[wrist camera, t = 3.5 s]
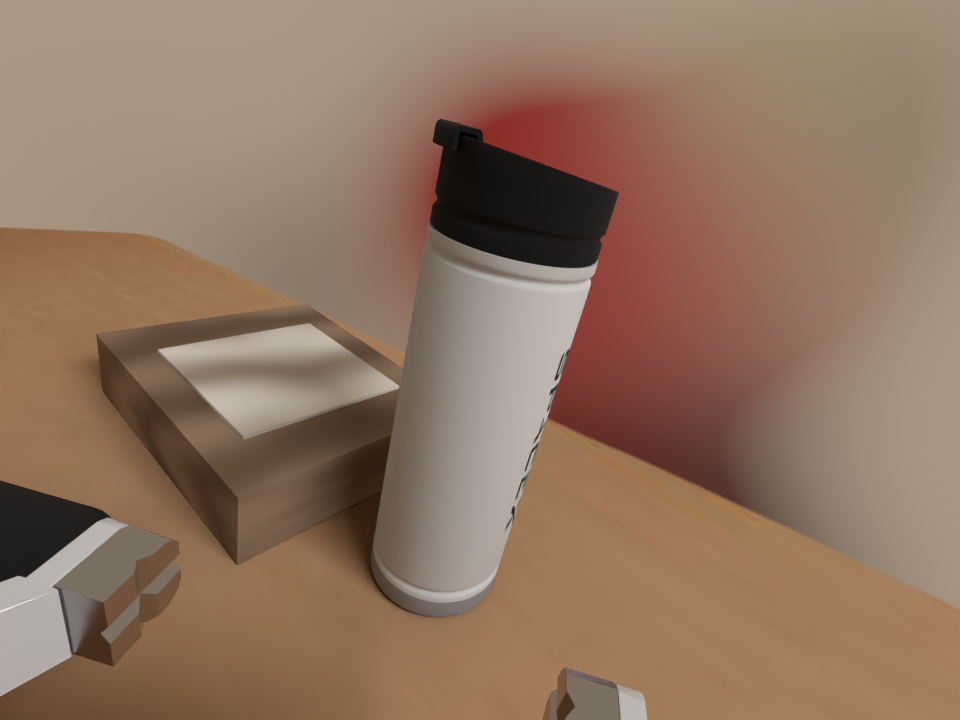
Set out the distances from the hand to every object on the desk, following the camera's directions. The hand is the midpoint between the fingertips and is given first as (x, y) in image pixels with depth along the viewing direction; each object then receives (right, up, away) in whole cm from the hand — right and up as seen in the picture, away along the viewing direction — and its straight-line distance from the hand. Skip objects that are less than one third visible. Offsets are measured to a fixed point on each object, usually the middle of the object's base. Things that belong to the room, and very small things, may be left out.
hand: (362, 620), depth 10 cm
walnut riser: (-10, +1, +22) cm, 25 cm away
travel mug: (0, -5, +15) cm, 16 cm away
